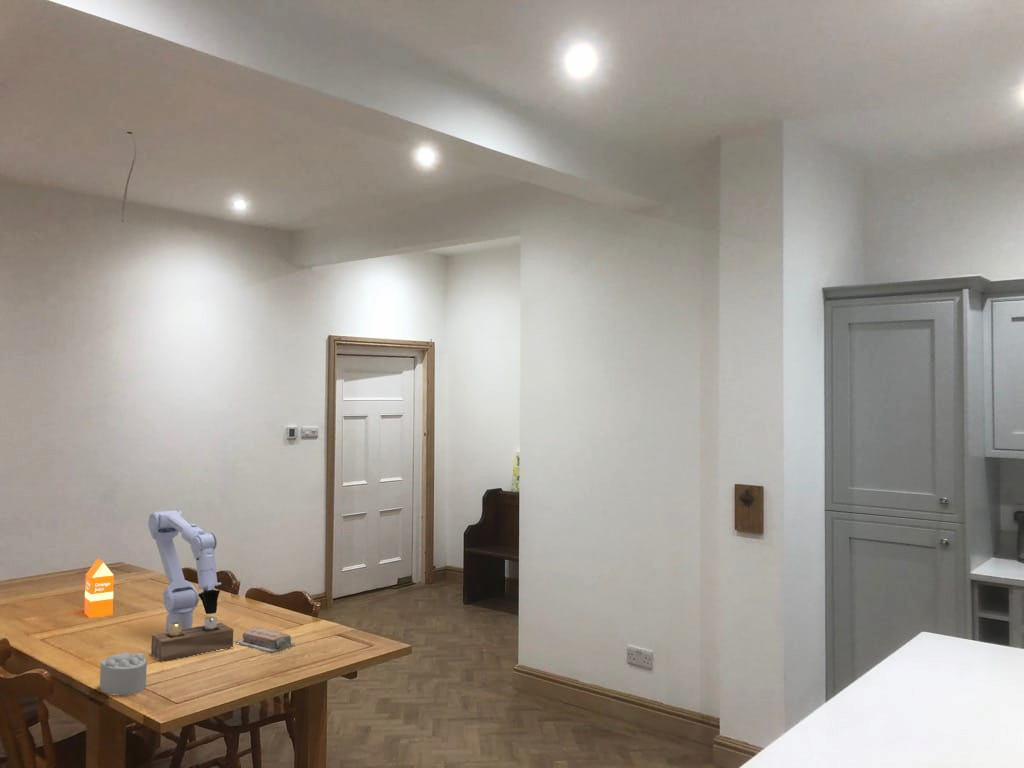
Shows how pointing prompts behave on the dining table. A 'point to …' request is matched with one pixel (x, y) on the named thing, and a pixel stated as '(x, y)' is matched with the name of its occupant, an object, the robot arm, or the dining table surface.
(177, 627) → the brass peg
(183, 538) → the robot arm
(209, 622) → the grey metal peg
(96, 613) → the orange juice
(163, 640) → the walnut block
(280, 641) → the packaged product
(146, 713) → the dining table surface
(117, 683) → the lumpy-topped squat cylinder
